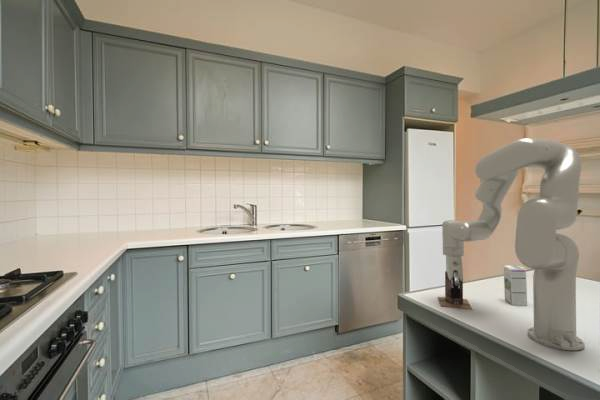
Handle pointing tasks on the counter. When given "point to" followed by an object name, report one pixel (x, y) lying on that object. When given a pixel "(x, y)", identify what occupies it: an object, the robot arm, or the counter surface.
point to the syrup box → (515, 285)
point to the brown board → (448, 304)
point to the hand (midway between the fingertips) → (453, 294)
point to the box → (448, 291)
